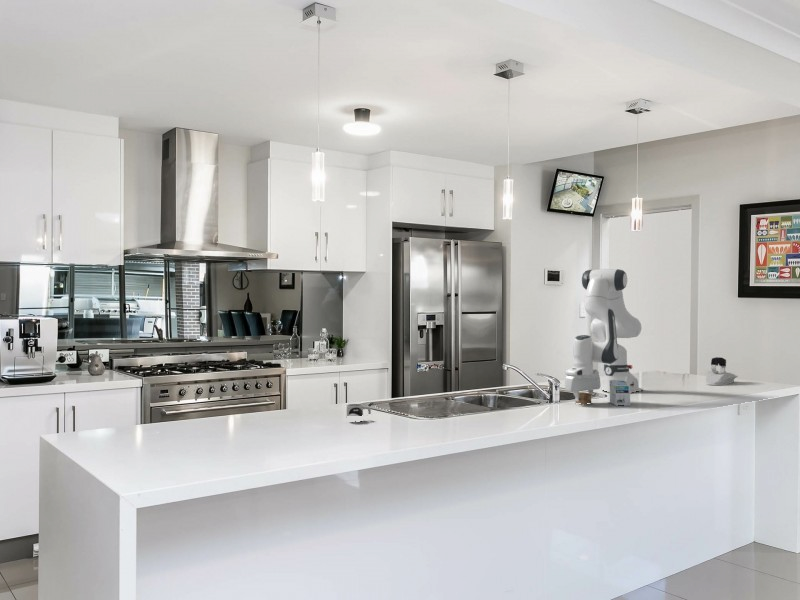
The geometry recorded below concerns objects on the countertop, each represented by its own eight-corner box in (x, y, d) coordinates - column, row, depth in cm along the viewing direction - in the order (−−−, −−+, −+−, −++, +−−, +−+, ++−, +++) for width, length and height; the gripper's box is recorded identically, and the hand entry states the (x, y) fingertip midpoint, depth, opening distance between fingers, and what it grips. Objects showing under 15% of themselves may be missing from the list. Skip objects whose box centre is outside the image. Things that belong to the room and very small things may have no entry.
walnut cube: (582, 402, 325) (582, 392, 325) (591, 404, 321) (591, 393, 321) (575, 403, 322) (575, 393, 322) (583, 405, 318) (583, 394, 318)
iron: (738, 382, 397) (738, 356, 397) (722, 386, 380) (722, 359, 380) (718, 381, 405) (718, 355, 405) (702, 384, 388) (702, 358, 388)
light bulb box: (630, 406, 313) (630, 382, 313) (615, 406, 314) (615, 382, 314) (623, 402, 324) (623, 379, 324) (609, 402, 324) (608, 379, 324)
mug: (348, 423, 276) (348, 406, 276) (345, 420, 283) (345, 404, 283) (372, 421, 279) (372, 405, 279) (369, 419, 285) (368, 403, 285)
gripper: (593, 368, 330) (593, 397, 330) (562, 371, 319) (563, 401, 319) (603, 369, 325) (603, 399, 325) (573, 372, 313) (573, 403, 313)
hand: (583, 400), depth 321 cm, fingers open, 6 cm apart
